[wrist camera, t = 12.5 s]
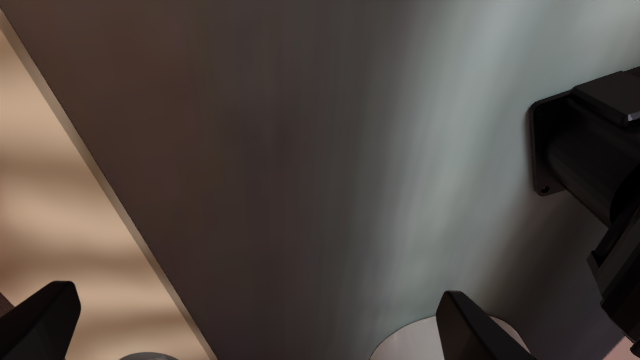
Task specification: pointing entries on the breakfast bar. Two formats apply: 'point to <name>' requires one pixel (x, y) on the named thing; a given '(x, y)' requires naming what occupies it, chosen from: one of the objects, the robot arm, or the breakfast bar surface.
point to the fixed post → (160, 359)
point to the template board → (77, 229)
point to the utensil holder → (422, 341)
